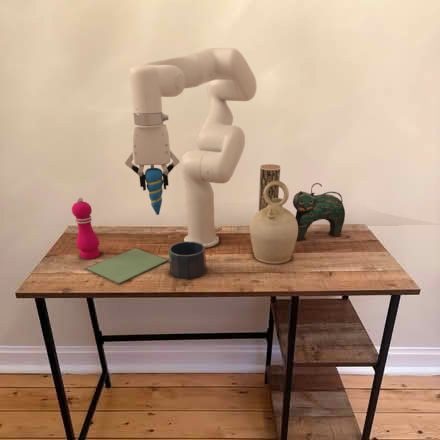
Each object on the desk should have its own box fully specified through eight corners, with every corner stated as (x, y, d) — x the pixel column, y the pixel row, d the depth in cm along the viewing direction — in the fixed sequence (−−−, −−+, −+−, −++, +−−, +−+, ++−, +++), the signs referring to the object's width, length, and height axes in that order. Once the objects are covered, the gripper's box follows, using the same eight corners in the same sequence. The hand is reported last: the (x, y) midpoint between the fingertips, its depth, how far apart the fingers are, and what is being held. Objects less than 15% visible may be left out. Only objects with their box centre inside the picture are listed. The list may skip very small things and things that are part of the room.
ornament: (169, 214, 119) (165, 162, 112) (156, 219, 116) (151, 165, 108) (158, 211, 122) (153, 159, 115) (144, 215, 119) (139, 163, 111)
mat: (135, 248, 141) (135, 247, 141) (167, 261, 132) (167, 259, 132) (86, 269, 127) (86, 268, 127) (119, 284, 119) (119, 282, 118)
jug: (263, 243, 144) (266, 172, 131) (303, 253, 136) (311, 179, 123) (240, 258, 133) (241, 182, 120) (282, 270, 125) (288, 190, 113)
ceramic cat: (293, 242, 144) (298, 186, 134) (286, 235, 150) (291, 181, 140) (344, 237, 148) (352, 182, 138) (335, 230, 154) (343, 177, 144)
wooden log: (277, 232, 153) (282, 165, 140) (273, 239, 147) (278, 169, 135) (260, 230, 155) (263, 163, 142) (255, 237, 149) (258, 167, 137)
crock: (187, 260, 132) (186, 238, 129) (212, 269, 127) (212, 247, 123) (163, 271, 125) (161, 249, 122) (189, 282, 119) (187, 259, 116)
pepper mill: (95, 260, 133) (84, 201, 123) (75, 259, 134) (62, 200, 124) (104, 251, 139) (95, 194, 129) (85, 250, 140) (74, 193, 130)
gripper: (180, 117, 110) (184, 184, 119) (116, 119, 108) (125, 186, 117) (181, 120, 104) (185, 191, 113) (114, 122, 102) (123, 193, 111)
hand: (154, 188), depth 115 cm, fingers closed on ornament, 5 cm apart
